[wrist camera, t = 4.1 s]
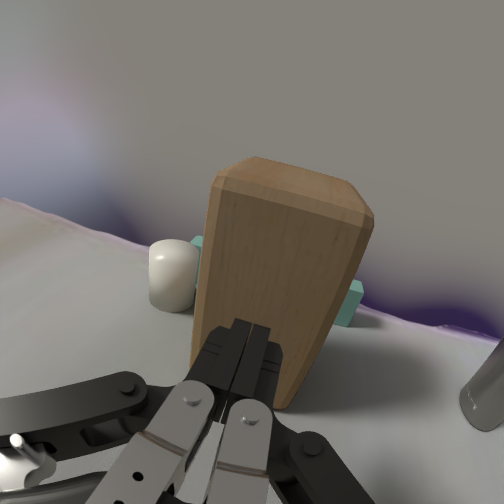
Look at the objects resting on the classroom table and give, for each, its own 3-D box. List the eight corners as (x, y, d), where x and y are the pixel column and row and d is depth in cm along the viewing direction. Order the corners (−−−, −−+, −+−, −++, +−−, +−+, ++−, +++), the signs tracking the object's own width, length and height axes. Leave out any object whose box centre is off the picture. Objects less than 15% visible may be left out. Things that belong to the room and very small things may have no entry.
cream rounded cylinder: (200, 292, 38) (206, 247, 34) (182, 318, 32) (186, 269, 29) (162, 279, 38) (164, 235, 35) (140, 302, 33) (139, 254, 30)
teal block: (345, 314, 39) (361, 281, 37) (347, 327, 37) (363, 293, 34) (193, 270, 42) (197, 235, 39) (185, 280, 39) (188, 243, 37)
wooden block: (295, 346, 32) (356, 182, 23) (286, 415, 23) (383, 216, 14) (215, 324, 33) (247, 153, 24) (185, 386, 24) (207, 168, 15)
